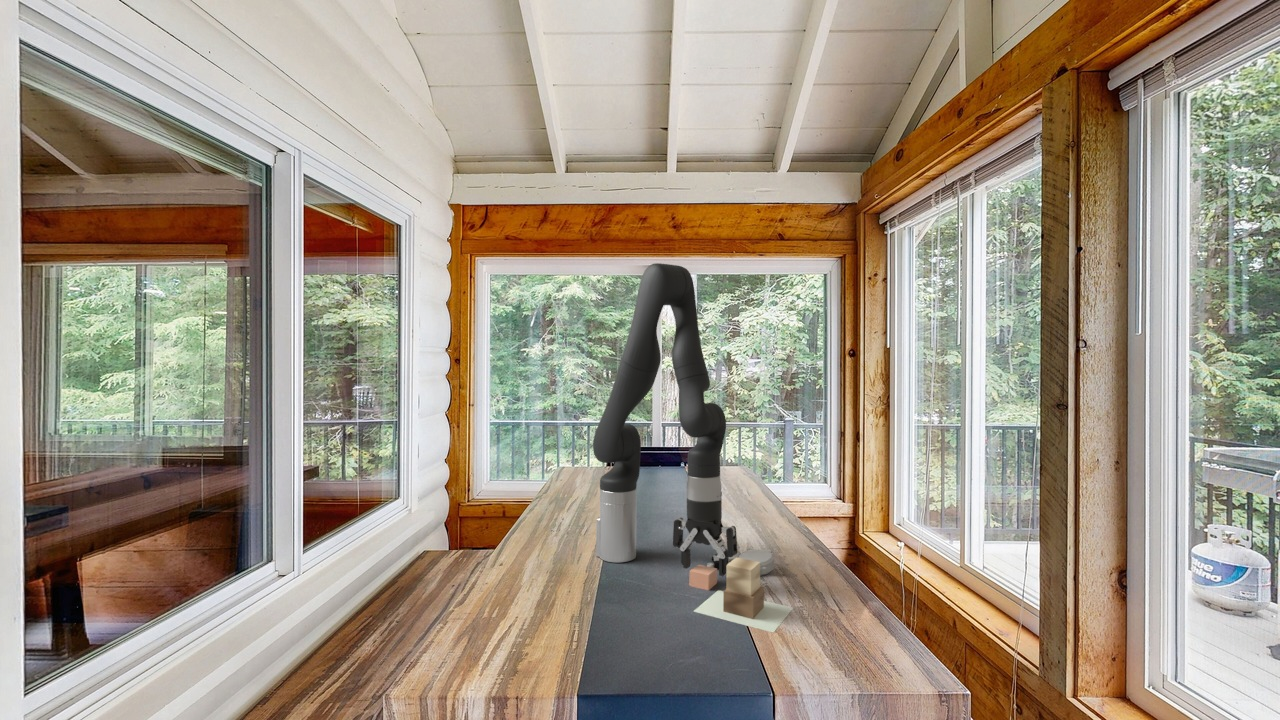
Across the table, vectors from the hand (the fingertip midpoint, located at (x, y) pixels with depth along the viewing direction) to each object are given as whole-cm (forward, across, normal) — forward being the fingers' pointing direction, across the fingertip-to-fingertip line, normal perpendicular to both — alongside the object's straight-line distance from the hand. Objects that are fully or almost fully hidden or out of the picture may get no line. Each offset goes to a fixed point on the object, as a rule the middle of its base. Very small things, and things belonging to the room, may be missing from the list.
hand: (704, 571), depth 125 cm
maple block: (-1, +12, -7) cm, 13 cm away
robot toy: (+5, +2, +15) cm, 16 cm away
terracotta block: (+4, 0, 0) cm, 4 cm away
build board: (+4, +12, -7) cm, 14 cm away
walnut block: (+3, +12, -7) cm, 14 cm away
